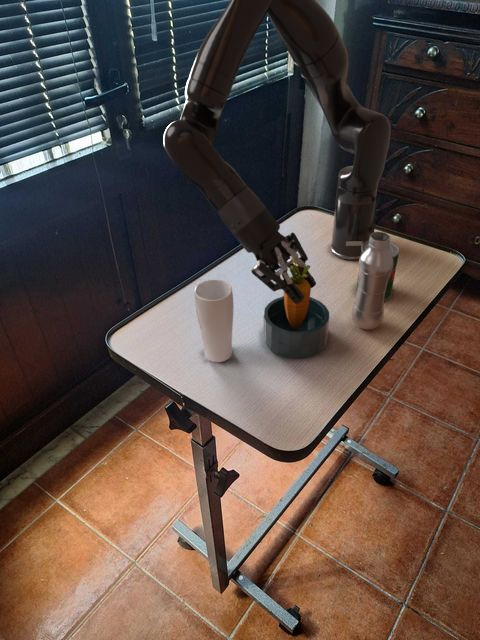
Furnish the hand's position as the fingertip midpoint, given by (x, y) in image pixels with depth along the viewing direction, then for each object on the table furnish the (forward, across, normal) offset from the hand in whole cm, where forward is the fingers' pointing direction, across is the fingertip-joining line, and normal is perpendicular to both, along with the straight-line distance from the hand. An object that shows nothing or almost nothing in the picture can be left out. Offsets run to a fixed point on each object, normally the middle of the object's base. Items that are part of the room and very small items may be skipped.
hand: (306, 293), depth 96 cm
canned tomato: (+13, +23, +3) cm, 26 cm away
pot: (+7, 0, +9) cm, 11 cm away
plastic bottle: (+15, +11, +2) cm, 18 cm away
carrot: (+5, 0, +8) cm, 10 cm away
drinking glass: (-1, -12, +17) cm, 21 cm away
